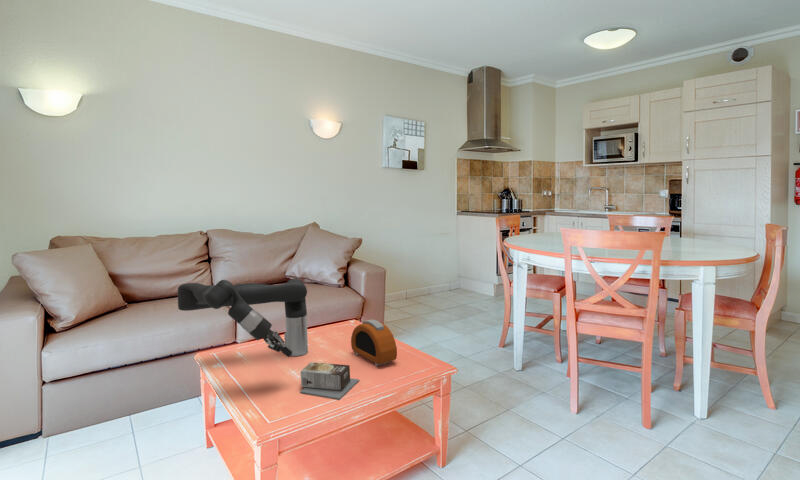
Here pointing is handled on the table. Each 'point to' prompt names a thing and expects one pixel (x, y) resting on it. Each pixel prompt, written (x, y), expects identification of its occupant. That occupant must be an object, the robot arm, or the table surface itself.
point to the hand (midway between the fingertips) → (290, 354)
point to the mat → (328, 392)
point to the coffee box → (325, 376)
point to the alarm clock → (374, 342)
